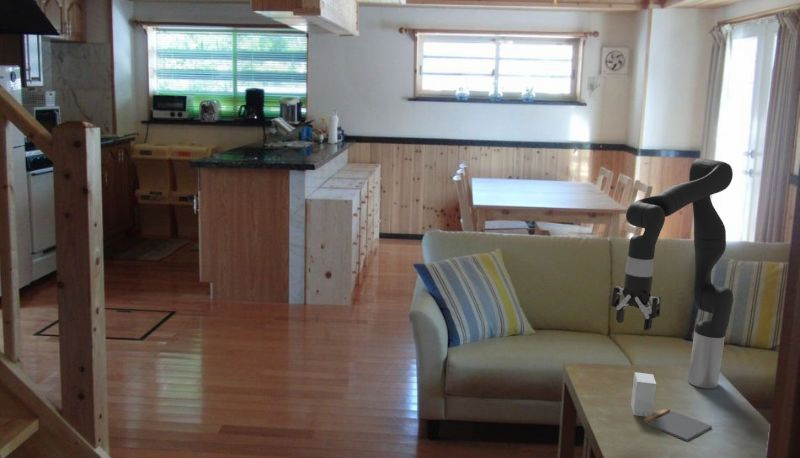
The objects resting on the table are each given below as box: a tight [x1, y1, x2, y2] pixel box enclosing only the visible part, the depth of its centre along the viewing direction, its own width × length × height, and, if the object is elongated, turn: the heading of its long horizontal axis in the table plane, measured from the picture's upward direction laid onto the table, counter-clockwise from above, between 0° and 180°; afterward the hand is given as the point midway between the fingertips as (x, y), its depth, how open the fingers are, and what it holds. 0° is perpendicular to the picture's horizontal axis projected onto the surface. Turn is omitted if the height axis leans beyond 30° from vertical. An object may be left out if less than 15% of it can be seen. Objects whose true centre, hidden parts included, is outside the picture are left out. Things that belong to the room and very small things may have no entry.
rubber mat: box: [647, 410, 713, 442], centre depth 218 cm, size 14×12×1 cm
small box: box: [630, 371, 658, 418], centre depth 225 cm, size 8×6×10 cm
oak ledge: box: [644, 407, 671, 424], centre depth 223 cm, size 12×1×1 cm, turn 132°
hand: (633, 326), depth 222 cm, fingers open, 8 cm apart
